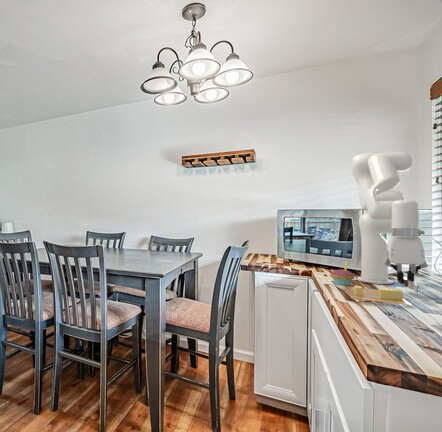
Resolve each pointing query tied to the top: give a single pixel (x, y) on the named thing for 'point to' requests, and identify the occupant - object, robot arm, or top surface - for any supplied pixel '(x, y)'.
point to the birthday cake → (342, 276)
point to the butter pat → (358, 290)
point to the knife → (409, 284)
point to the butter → (390, 293)
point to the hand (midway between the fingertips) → (405, 282)
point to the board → (373, 296)
